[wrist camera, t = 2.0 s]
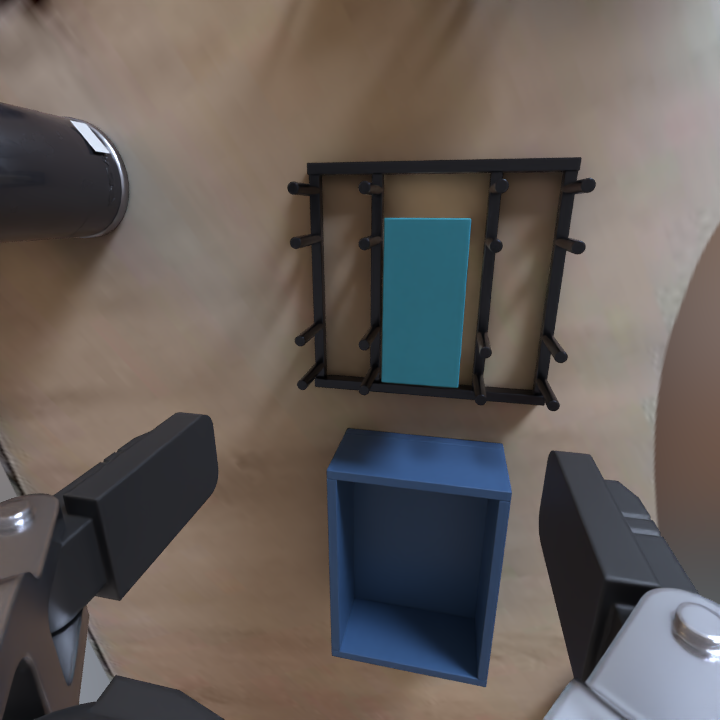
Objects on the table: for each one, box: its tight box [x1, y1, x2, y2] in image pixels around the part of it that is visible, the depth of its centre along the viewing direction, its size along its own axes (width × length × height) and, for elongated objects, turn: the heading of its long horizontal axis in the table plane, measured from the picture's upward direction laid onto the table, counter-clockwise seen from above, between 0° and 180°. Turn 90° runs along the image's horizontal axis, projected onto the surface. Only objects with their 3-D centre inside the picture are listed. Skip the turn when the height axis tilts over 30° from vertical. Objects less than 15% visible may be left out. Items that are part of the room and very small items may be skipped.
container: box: [381, 218, 471, 388], centre depth 31 cm, size 5×10×8 cm, turn 0°
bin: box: [327, 428, 512, 687], centre depth 39 cm, size 20×14×7 cm
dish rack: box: [287, 157, 596, 411], centre depth 32 cm, size 19×18×6 cm
